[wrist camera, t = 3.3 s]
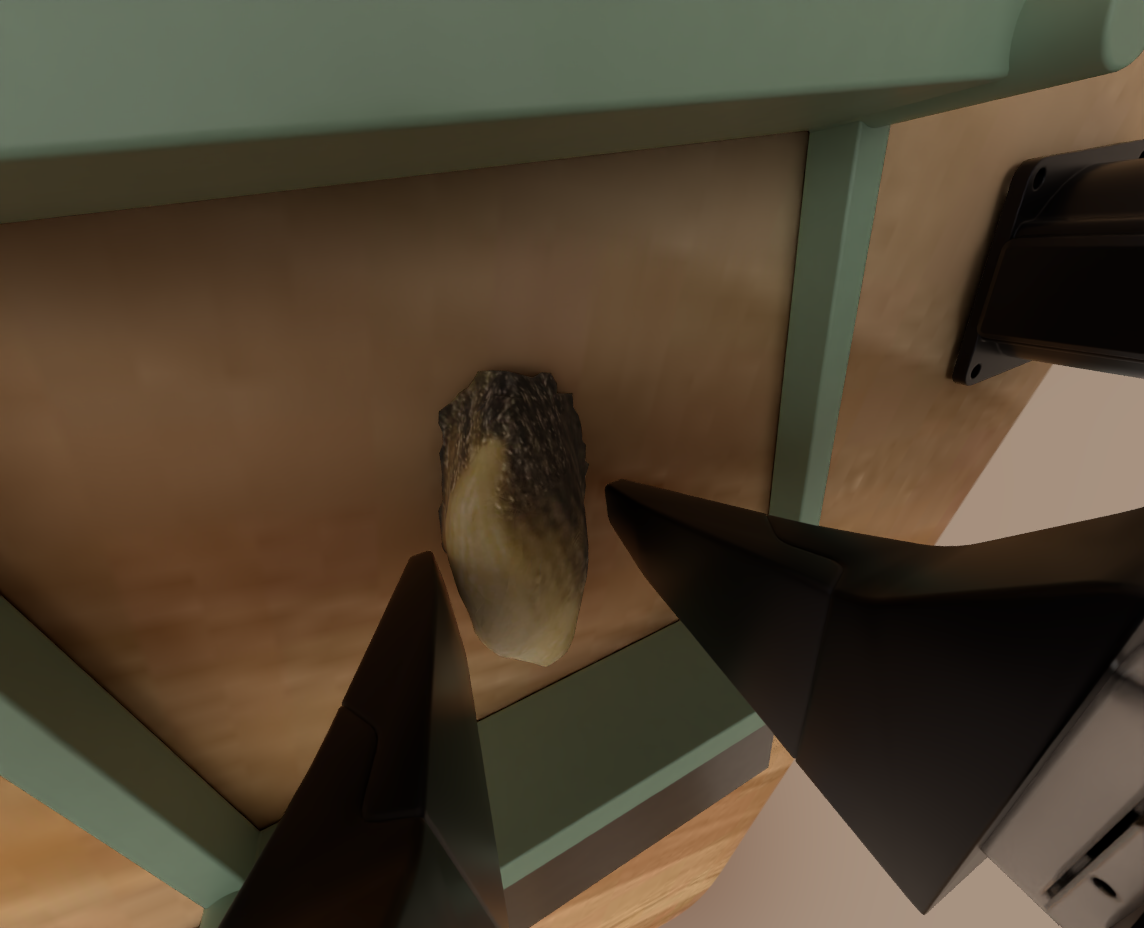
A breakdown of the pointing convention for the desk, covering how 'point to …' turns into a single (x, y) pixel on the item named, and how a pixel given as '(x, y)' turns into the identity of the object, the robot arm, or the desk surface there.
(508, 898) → the board
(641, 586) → the desk surface
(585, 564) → the brazil nut
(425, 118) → the frame
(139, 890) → the desk surface
